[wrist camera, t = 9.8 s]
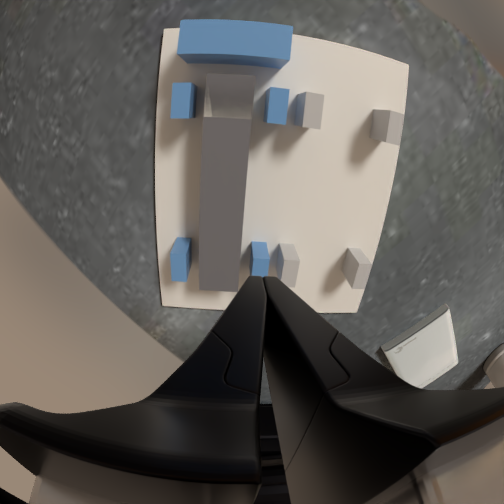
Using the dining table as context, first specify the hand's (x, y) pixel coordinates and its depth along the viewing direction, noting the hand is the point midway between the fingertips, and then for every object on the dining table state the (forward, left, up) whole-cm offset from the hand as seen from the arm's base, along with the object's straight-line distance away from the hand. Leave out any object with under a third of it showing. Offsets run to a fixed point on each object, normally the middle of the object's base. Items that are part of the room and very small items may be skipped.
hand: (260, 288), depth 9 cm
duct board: (+1, -2, -11) cm, 11 cm away
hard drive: (-16, -22, -12) cm, 29 cm away
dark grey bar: (+1, +2, -11) cm, 11 cm away
